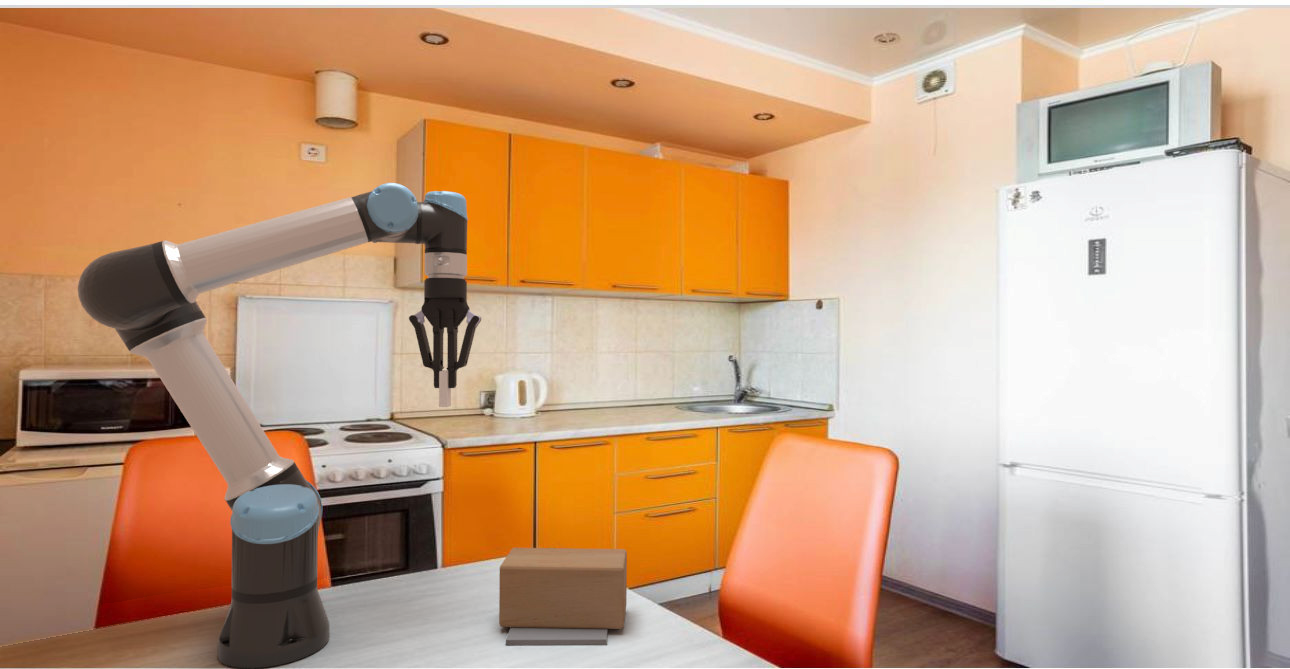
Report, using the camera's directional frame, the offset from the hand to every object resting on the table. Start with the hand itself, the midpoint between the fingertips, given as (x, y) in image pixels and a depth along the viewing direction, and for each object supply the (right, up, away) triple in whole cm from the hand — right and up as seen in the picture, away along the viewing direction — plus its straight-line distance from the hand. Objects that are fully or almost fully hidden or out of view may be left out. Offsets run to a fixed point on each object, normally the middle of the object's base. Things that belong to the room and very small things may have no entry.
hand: (445, 406), depth 132 cm
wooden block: (+13, -29, -12) cm, 34 cm away
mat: (+23, -35, -11) cm, 43 cm away
